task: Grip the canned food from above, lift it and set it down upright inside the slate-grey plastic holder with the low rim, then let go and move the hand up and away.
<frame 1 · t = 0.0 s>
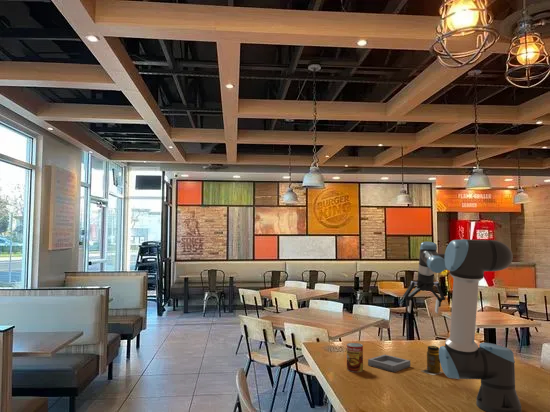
hand: (422, 312, 209), 28 cm above the table, tool tilted 20°, fingers open, 13 cm apart
holder: (389, 365, 211), on the table
canned food: (354, 370, 204), on the table
condiment: (432, 372, 202), on the table
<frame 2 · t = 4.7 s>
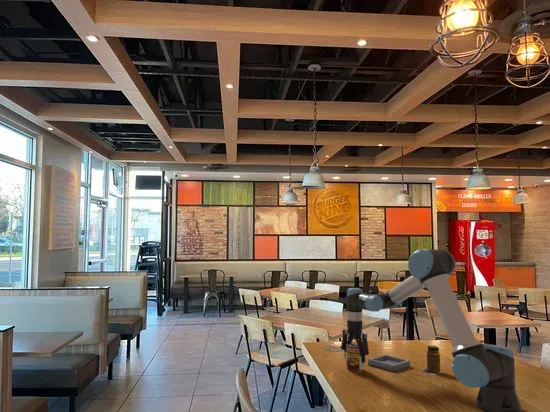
hand: (354, 367, 204), 1 cm above the table, tool pointing down, fingers closed on canned food, 8 cm apart
canned food: (354, 370, 204), on the table, touching gripper
everything else where it was.
when the fingers open (4 cm above the table, at t = 12.0 s): canned food drops 1 cm, resting on holder.
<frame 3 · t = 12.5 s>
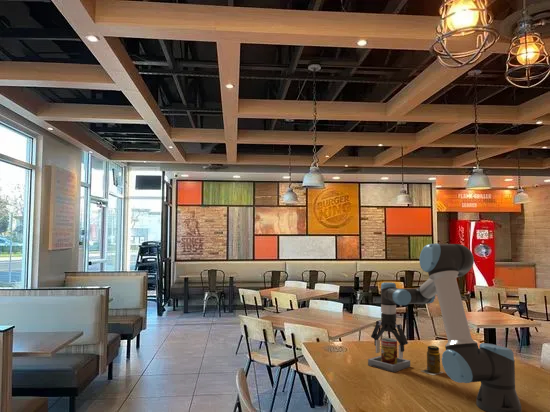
hand: (389, 355, 211), 5 cm above the table, tool pointing down, fingers open, 13 cm apart
canned food: (389, 364, 211), point 1 cm above the table, touching holder
everything else where it was.
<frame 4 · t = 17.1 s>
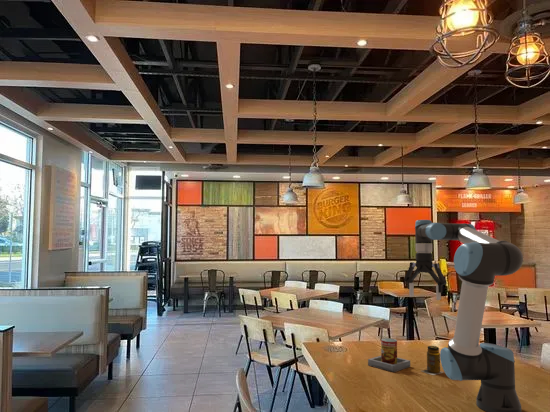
hand: (424, 298, 194), 37 cm above the table, tool pointing down, fingers open, 13 cm apart
nothing on the table moved.
at the end: canned food 0.0 cm off-centre on the holder, point 0.8 cm above the holder's base; canned food tilted 0°; the gripper is holding nothing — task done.
